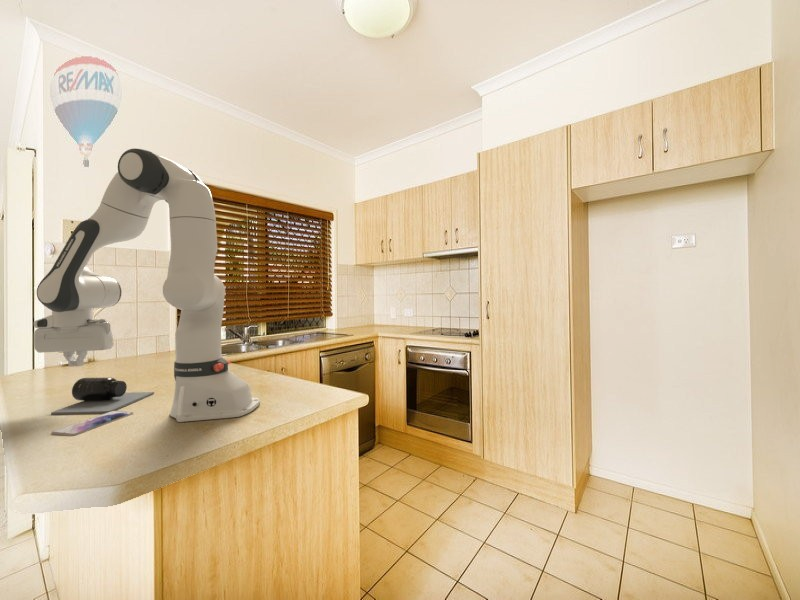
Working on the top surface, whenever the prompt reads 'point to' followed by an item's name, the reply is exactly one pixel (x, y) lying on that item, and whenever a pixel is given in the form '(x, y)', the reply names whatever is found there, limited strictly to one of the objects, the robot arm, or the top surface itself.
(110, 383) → the supplement bottle
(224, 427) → the top surface
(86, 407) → the rubber mat
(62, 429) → the smartphone
